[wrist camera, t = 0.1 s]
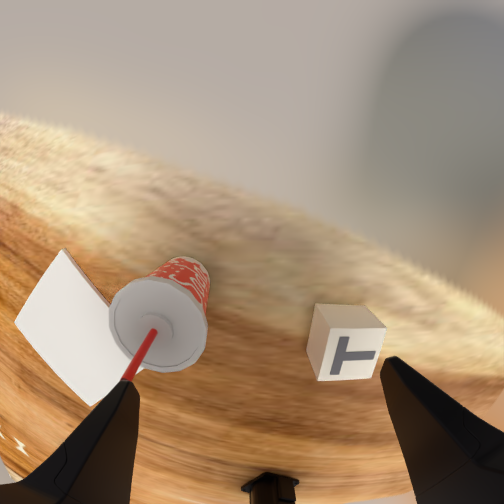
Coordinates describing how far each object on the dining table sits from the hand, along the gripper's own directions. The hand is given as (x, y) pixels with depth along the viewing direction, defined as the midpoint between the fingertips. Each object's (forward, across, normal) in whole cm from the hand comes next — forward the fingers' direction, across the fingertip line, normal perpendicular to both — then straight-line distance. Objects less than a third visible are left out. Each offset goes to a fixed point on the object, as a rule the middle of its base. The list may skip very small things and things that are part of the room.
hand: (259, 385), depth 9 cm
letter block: (+13, -8, +11) cm, 19 cm away
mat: (+13, +19, +10) cm, 26 cm away
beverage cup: (+15, +6, +5) cm, 17 cm away
